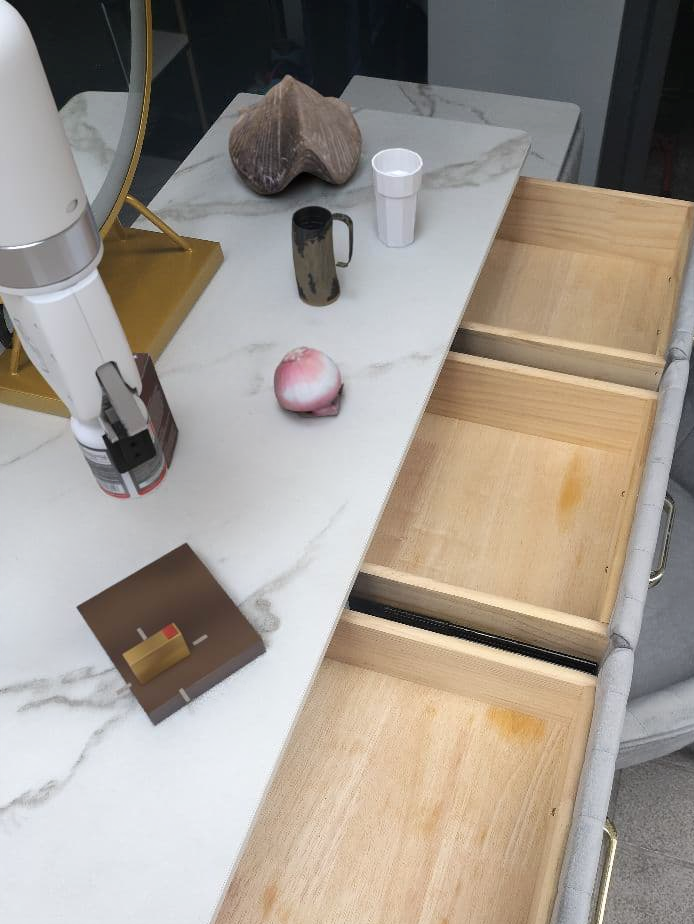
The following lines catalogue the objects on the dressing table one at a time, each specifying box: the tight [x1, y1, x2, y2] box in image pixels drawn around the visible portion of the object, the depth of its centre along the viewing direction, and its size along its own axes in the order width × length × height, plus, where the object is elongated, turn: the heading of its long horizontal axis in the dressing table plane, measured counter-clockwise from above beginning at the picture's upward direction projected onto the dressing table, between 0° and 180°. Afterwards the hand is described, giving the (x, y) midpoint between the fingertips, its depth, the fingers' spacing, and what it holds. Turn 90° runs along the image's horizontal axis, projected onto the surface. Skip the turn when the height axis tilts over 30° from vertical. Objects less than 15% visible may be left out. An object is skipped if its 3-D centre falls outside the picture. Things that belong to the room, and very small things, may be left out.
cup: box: [371, 147, 424, 249], centre depth 110 cm, size 7×7×11 cm
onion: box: [273, 346, 345, 418], centre depth 93 cm, size 8×8×7 cm
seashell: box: [228, 74, 363, 195], centre depth 119 cm, size 16×17×15 cm
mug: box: [291, 205, 354, 307], centre depth 102 cm, size 8×6×12 cm
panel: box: [75, 542, 267, 727], centre depth 77 cm, size 15×13×3 cm
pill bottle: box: [68, 390, 168, 501], centre depth 64 cm, size 6×6×10 cm
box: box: [132, 352, 179, 470], centre depth 87 cm, size 6×4×12 cm
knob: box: [123, 623, 191, 685], centre depth 72 cm, size 5×1×4 cm, turn 128°
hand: (116, 436), depth 64 cm, fingers closed on pill bottle, 5 cm apart
